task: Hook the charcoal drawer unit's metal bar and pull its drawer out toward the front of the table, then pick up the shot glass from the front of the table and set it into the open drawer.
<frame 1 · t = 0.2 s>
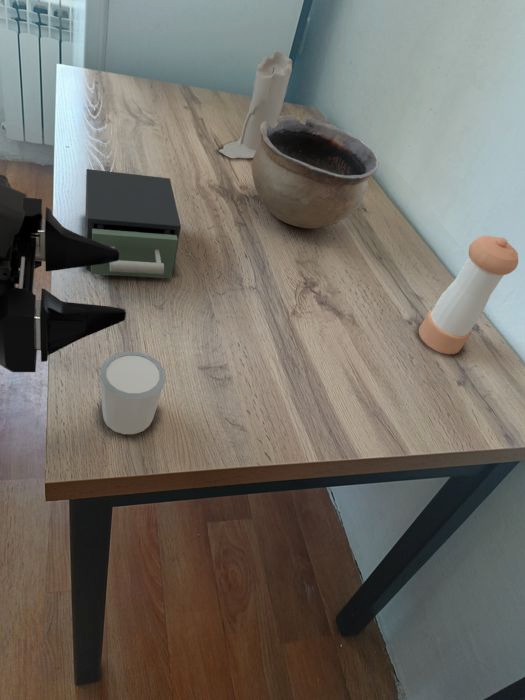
hand: (122, 283, 52), 17 cm above the table, tool horizontal, fingers open, 9 cm apart
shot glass: (128, 415, 62), on the table
salt shaker: (439, 339, 87), on the table
candle: (244, 151, 120), on the table
ceramic bowl: (297, 216, 105), on the table
drawer: (132, 241, 78), point 4 cm above the table, slide at 1.0 cm
cabinet: (127, 245, 84), on the table
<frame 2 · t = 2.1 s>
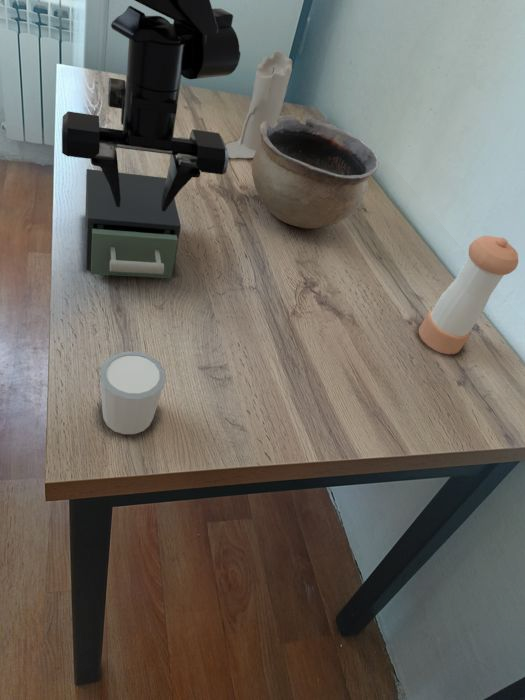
hand: (140, 207, 69), 13 cm above the table, tool pointing down, fingers open, 5 cm apart
nothing on the table moved.
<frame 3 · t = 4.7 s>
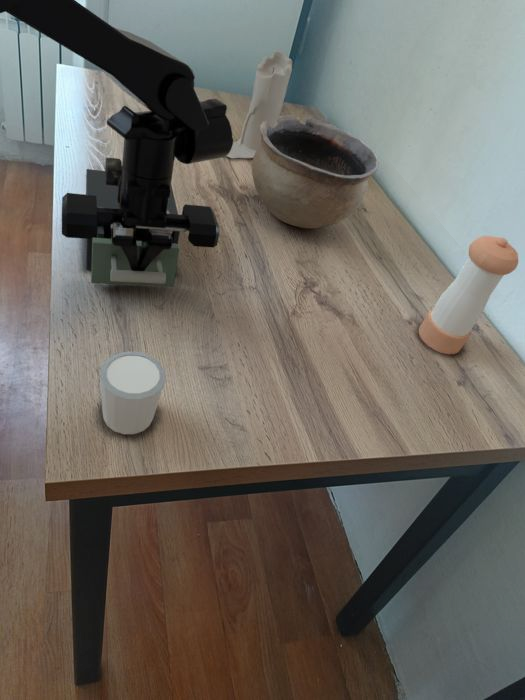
hand: (136, 275, 72), 5 cm above the table, tool pointing down, fingers closed, pressing on drawer
drawer: (133, 249, 77), point 4 cm above the table, slide at 3.1 cm, touching gripper
everything else where it was.
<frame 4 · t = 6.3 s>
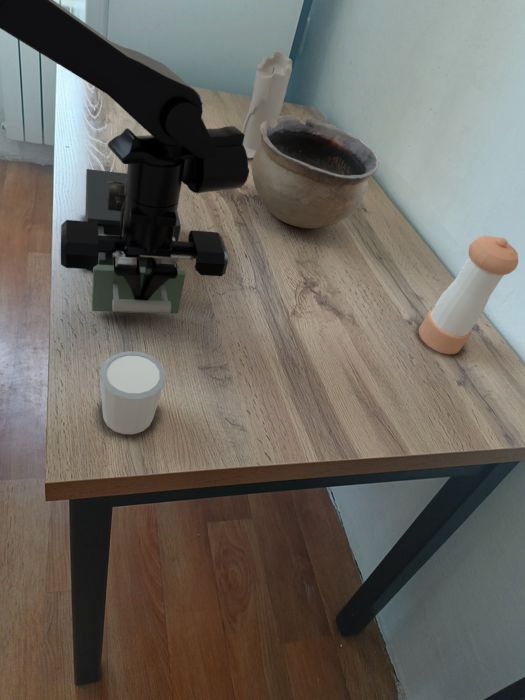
hand: (139, 303, 69), 5 cm above the table, tool pointing down, fingers closed, pressing on drawer
drawer: (136, 275, 73), point 4 cm above the table, slide at 8.9 cm, touching gripper
everything else where it was.
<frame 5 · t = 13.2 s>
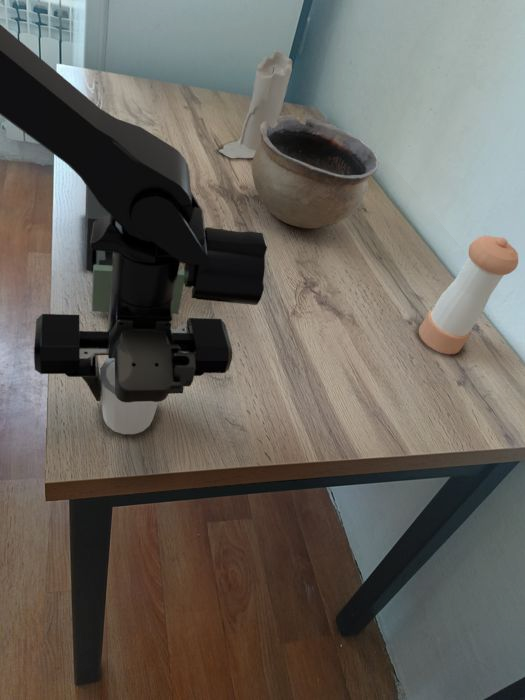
hand: (130, 397, 59), 3 cm above the table, tool pointing down, fingers closed on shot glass, 6 cm apart
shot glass: (128, 415, 62), on the table, touching gripper
drawer: (136, 275, 73), point 4 cm above the table, slide at 9.0 cm
everything else where it was.
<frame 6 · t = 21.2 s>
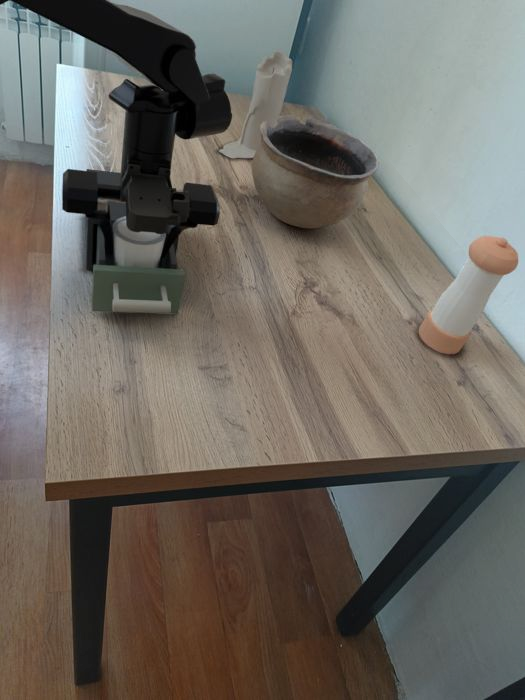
hand: (136, 254, 72), 7 cm above the table, tool pointing down, fingers closed on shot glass, 6 cm apart
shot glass: (135, 273, 75), point 3 cm above the table, touching gripper
everything else where it was.
when the fingers open (8 cm above the table, at t = 28.8 s): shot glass drops 3 cm, resting on drawer.
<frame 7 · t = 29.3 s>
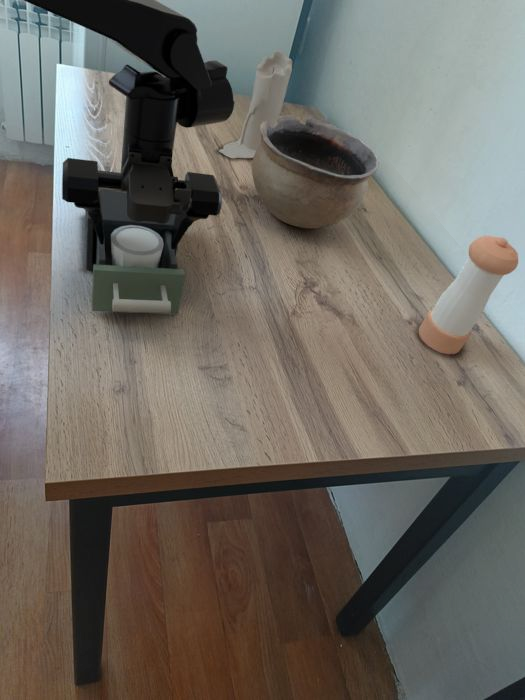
hand: (137, 245, 72), 8 cm above the table, tool pointing down, fingers open, 9 cm apart
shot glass: (133, 282, 76), point 2 cm above the table, touching drawer
drawer: (136, 275, 73), point 4 cm above the table, slide at 8.9 cm, touching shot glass
everything else where it was.
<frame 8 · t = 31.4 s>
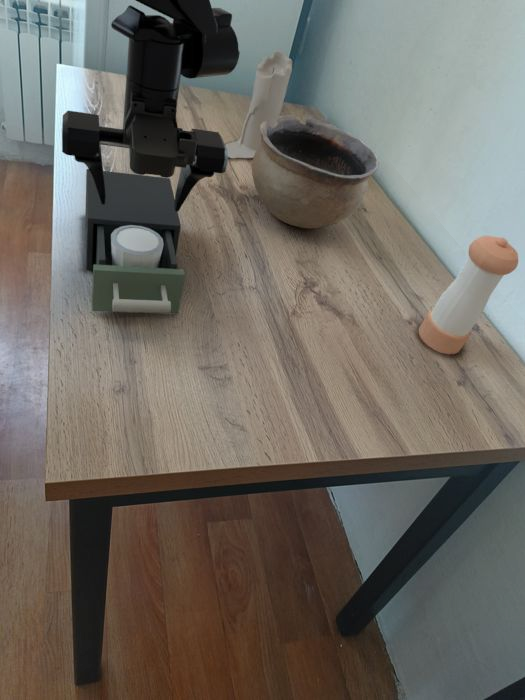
hand: (140, 206, 69), 13 cm above the table, tool pointing down, fingers open, 9 cm apart
nothing on the table moved.
at the end: drawer slide at 8.9 cm; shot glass inside the target area in the drawer (0.2 cm from its centre), point 1.8 cm above the cabinet's base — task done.
